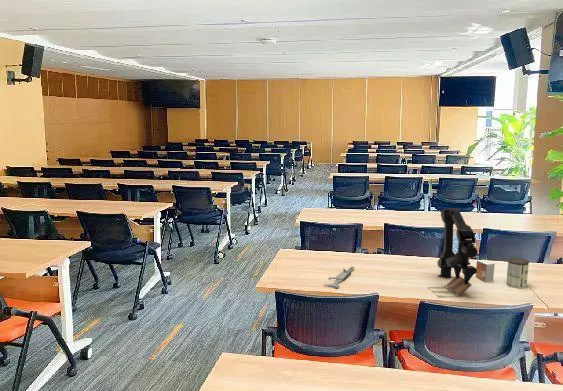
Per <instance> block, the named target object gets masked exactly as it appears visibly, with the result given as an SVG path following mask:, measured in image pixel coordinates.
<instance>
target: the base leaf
mask: <svg viewBox="0 0 563 391" xmlns="http://www.w3.org/2000/svg"><path fill="white" fill-rule="evenodd" d="M448 288H450V287H448V286H447V284H446V285H444V286H428V287H427V289H428V290H430V291H431V292H432V293H433V294H434V295H435V296H436V297H438V299H439V298H460V297H461V296H460V295H459V294H457V293H455V292H454V293H453V294H452V293H451V292H450V291H448V290H447V289H448Z"/></svg>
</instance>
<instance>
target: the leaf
mask: <svg viewBox="0 0 563 391" xmlns="http://www.w3.org/2000/svg"><path fill="white" fill-rule="evenodd" d="M446 286H448V287H449V288H448V289H447V290H448V291H450V292H451V293H452V294H453V293H454V292H455V293H457V294H458V295H459V296H460V297H461V296H462V295H464V293H465V292H467V290H468V289H470V287H472V286H473V285H472V283H470V282H468V283H467V284H464V277H462V276H461V275H459V278H456V276H455V277H453V278H452V279H451V280H450V281H449V282H448V283H447V284H446Z"/></svg>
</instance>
